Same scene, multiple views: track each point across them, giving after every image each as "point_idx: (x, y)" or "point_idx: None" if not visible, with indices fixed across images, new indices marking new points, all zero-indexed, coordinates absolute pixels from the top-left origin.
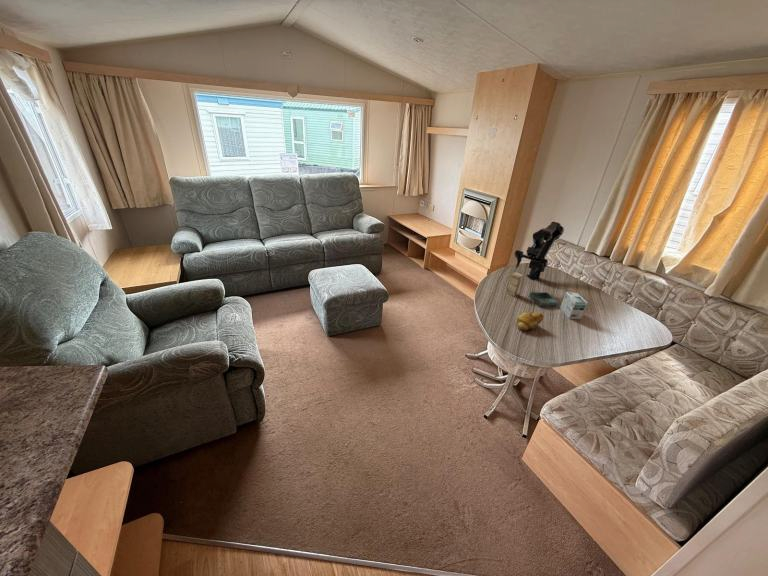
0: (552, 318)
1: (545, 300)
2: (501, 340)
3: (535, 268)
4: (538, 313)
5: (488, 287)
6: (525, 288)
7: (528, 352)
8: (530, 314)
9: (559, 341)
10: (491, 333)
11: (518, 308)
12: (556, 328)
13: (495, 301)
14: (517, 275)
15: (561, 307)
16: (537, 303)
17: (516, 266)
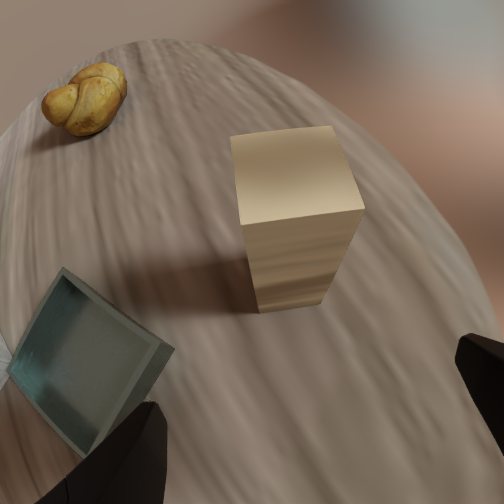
0: (26, 236)
1: (78, 388)
2: (141, 45)
3: (85, 471)
4: (54, 92)
5: (414, 212)
6: (270, 467)
7: (83, 68)
8: (80, 82)
9: (19, 145)
10: (170, 40)
11: (158, 167)
12: (18, 189)
13: (272, 126)
14: (275, 155)
15: (2, 352)
16: (91, 288)
17: (480, 336)
